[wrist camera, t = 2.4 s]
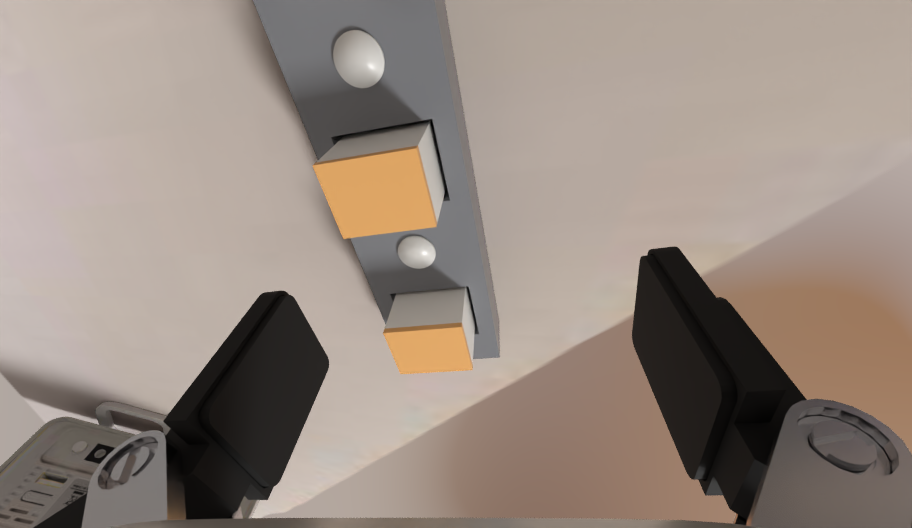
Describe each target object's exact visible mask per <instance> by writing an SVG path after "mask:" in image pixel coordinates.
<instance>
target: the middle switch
mask: <svg viewBox="0 0 912 528" xmlns="http://www.w3.org/2000/svg"><path fill="white" fill-rule="evenodd" d="M313 168H314V171H315V173H316V175H317V178H318V180H319V182H320V185H321V187H322V189H323V192H324V194H325V197H326V199H327V201H328V204H329V206H330V208H331V211H332V213H333V216H334V218H335V220H336V223H337V225H338V227H339V230H340V232H341V234H342V237H343V239H347V238H354V237H362V236H370V235H378V234H386V233H394V232H402V231H409V230H417V229H425V228H433V227H436V226H437V222H438V218H439V214H440V210H441V206H442V202H443V198H444V194H445V190H446V188H445V184H444V179H443V175H442V170H441V166H440V161H439V157H438V152H437V147H436V143H435V138H434V134H433V129H432V125H431V121H425V122H420V123H414V124H408V125H403V126H397V127H392V128H386V129H381V130H375V131H369V132H364V133H358V134H353V135H347V136H344V137H342V138H341V139H340V140H339V141H338V142H337V143H336V144H335V145H334V146H333V147H332V148H331V149H330V150H329V151H328V152H327V153H325V154H324V155H323V156H322V157H321V158H320V159H319V160H318V161H317V162H316V163H315V164H314V165H313Z"/></svg>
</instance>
